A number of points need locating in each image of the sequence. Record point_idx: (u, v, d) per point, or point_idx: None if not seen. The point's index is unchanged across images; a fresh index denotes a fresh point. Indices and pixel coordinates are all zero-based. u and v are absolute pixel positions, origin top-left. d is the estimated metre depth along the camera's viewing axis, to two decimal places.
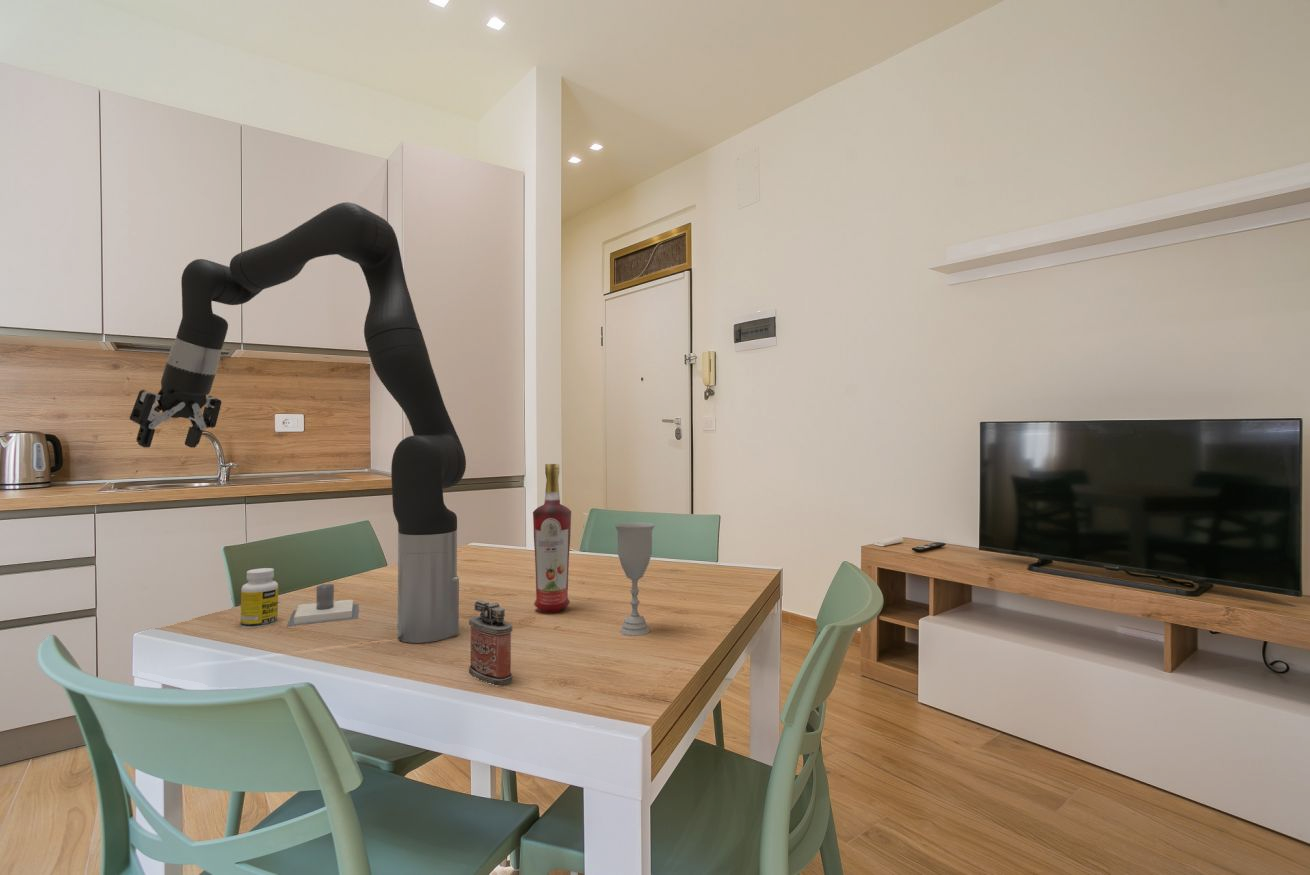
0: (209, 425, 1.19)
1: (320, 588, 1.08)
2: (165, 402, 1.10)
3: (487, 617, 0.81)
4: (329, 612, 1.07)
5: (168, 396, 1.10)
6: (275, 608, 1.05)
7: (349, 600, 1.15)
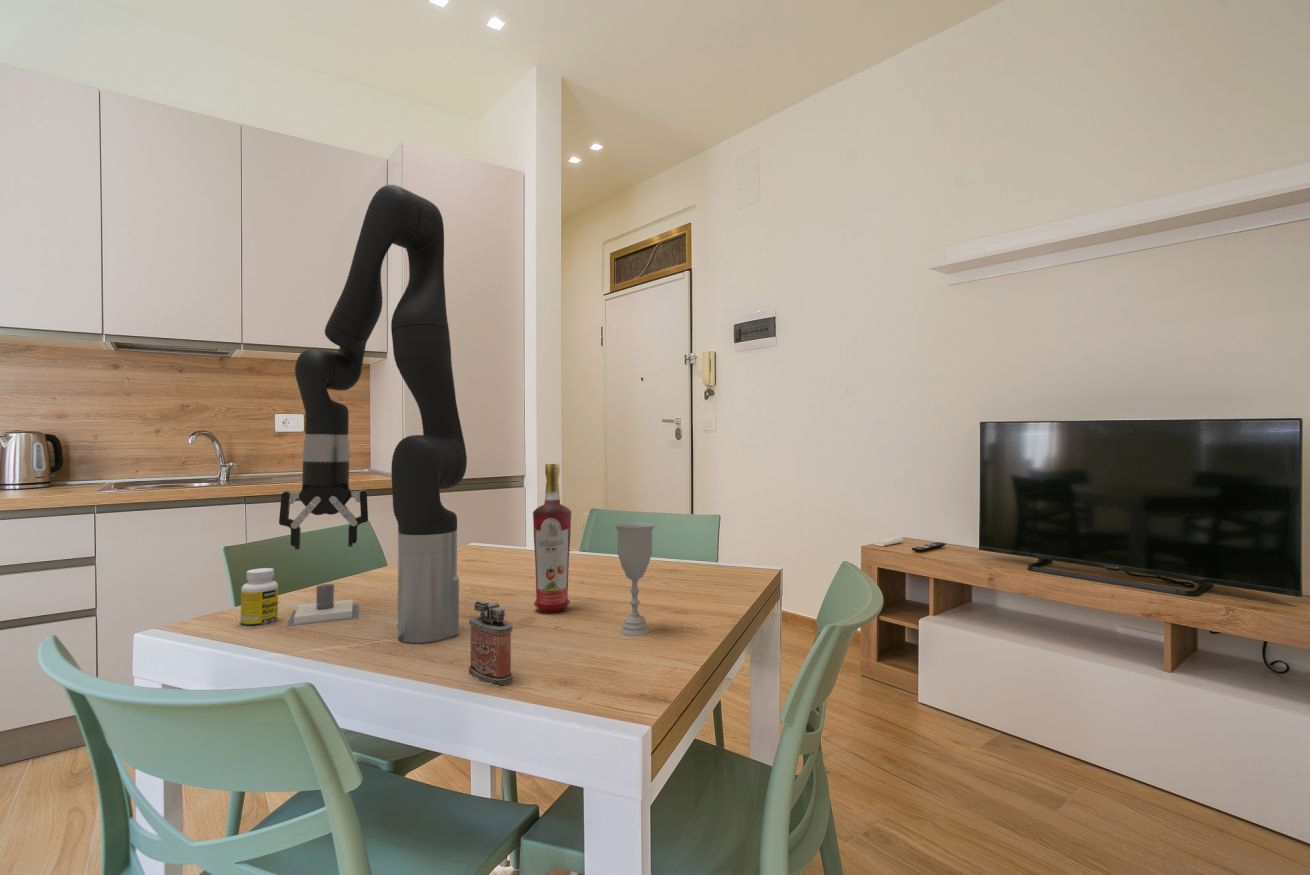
0: None
1: (320, 588, 1.08)
2: (302, 499, 1.08)
3: (487, 617, 0.81)
4: (329, 612, 1.07)
5: (303, 492, 1.08)
6: (275, 608, 1.05)
7: (349, 600, 1.15)
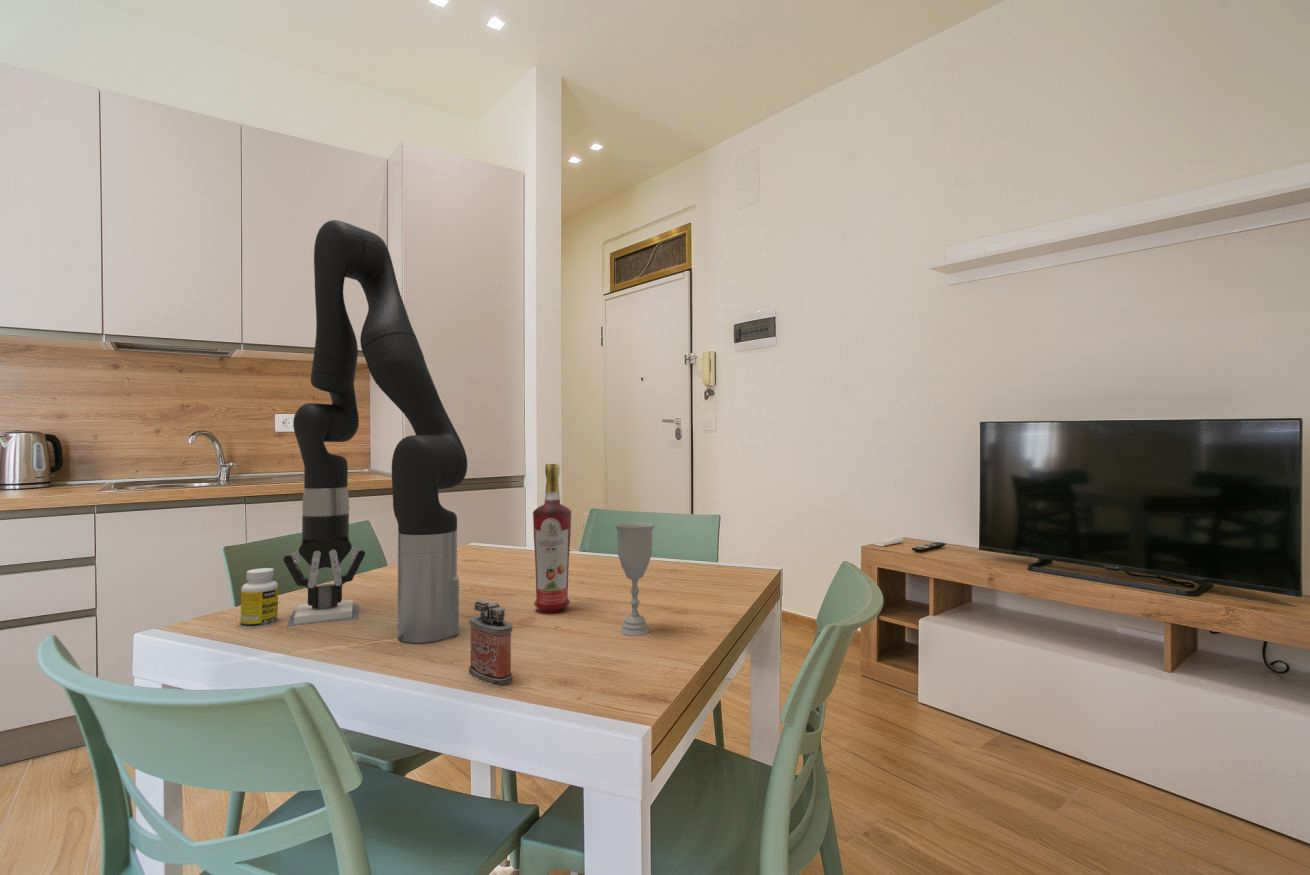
0: (346, 578, 1.10)
1: (320, 588, 1.08)
2: (305, 554, 1.08)
3: (487, 617, 0.81)
4: (329, 612, 1.07)
5: (302, 548, 1.07)
6: (275, 608, 1.05)
7: (349, 600, 1.15)
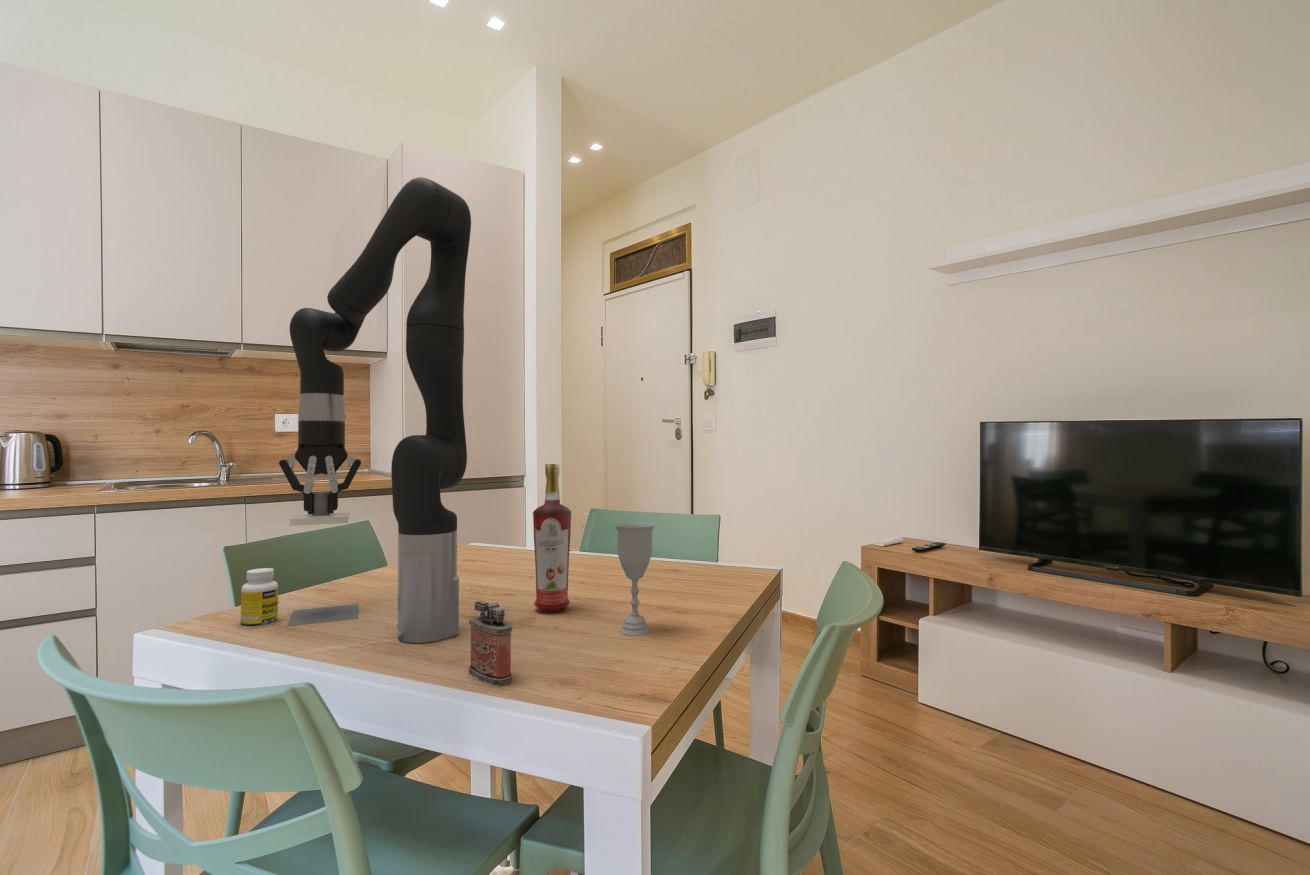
0: (341, 485, 1.10)
1: (316, 494, 1.08)
2: (300, 459, 1.07)
3: (487, 617, 0.81)
4: (325, 517, 1.07)
5: (298, 453, 1.07)
6: (275, 608, 1.05)
7: (345, 511, 1.15)
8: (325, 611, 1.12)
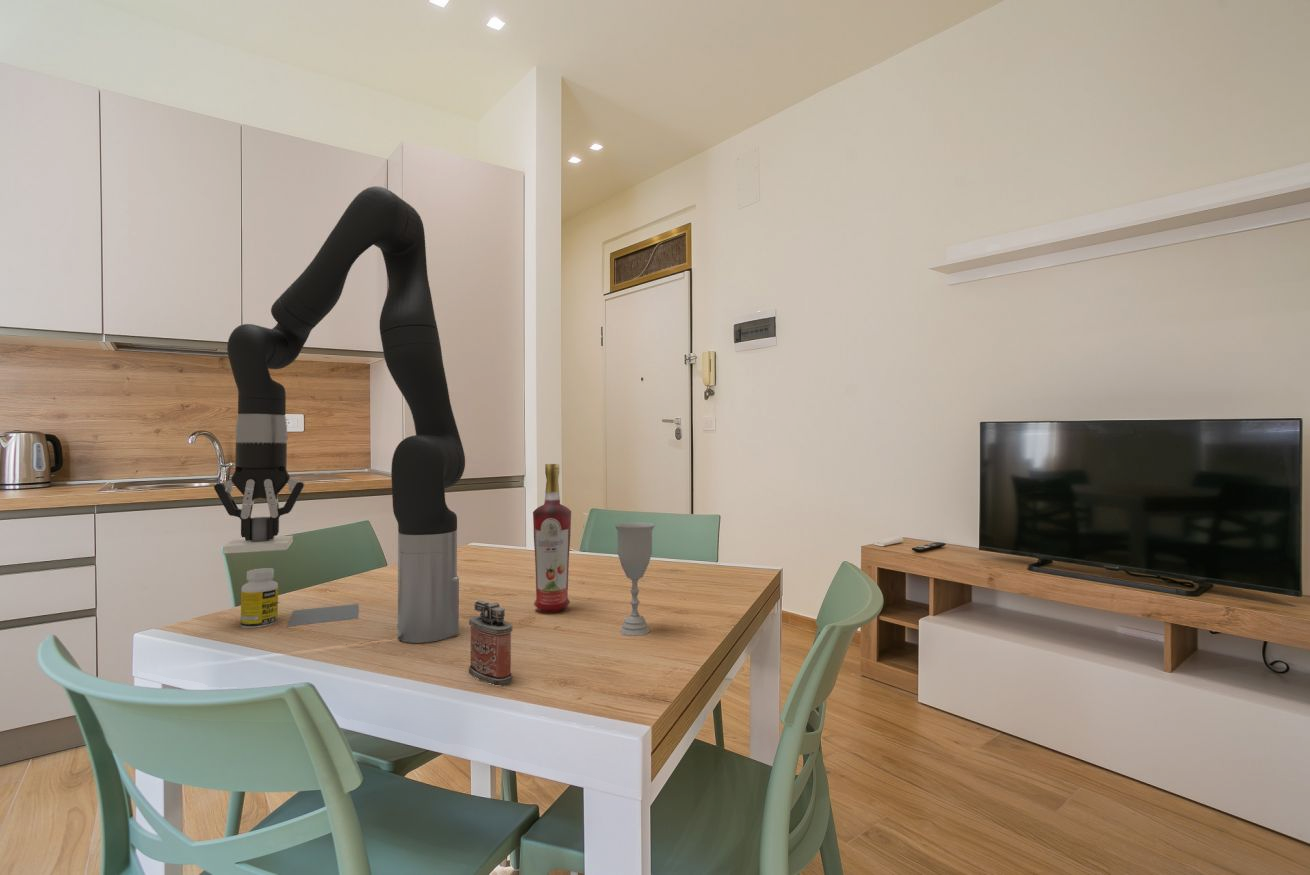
0: (282, 510, 1.05)
1: (254, 519, 1.03)
2: (237, 483, 1.03)
3: (487, 617, 0.81)
4: (262, 543, 1.02)
5: (234, 477, 1.02)
6: (275, 608, 1.05)
7: (288, 536, 1.10)
8: (325, 611, 1.12)
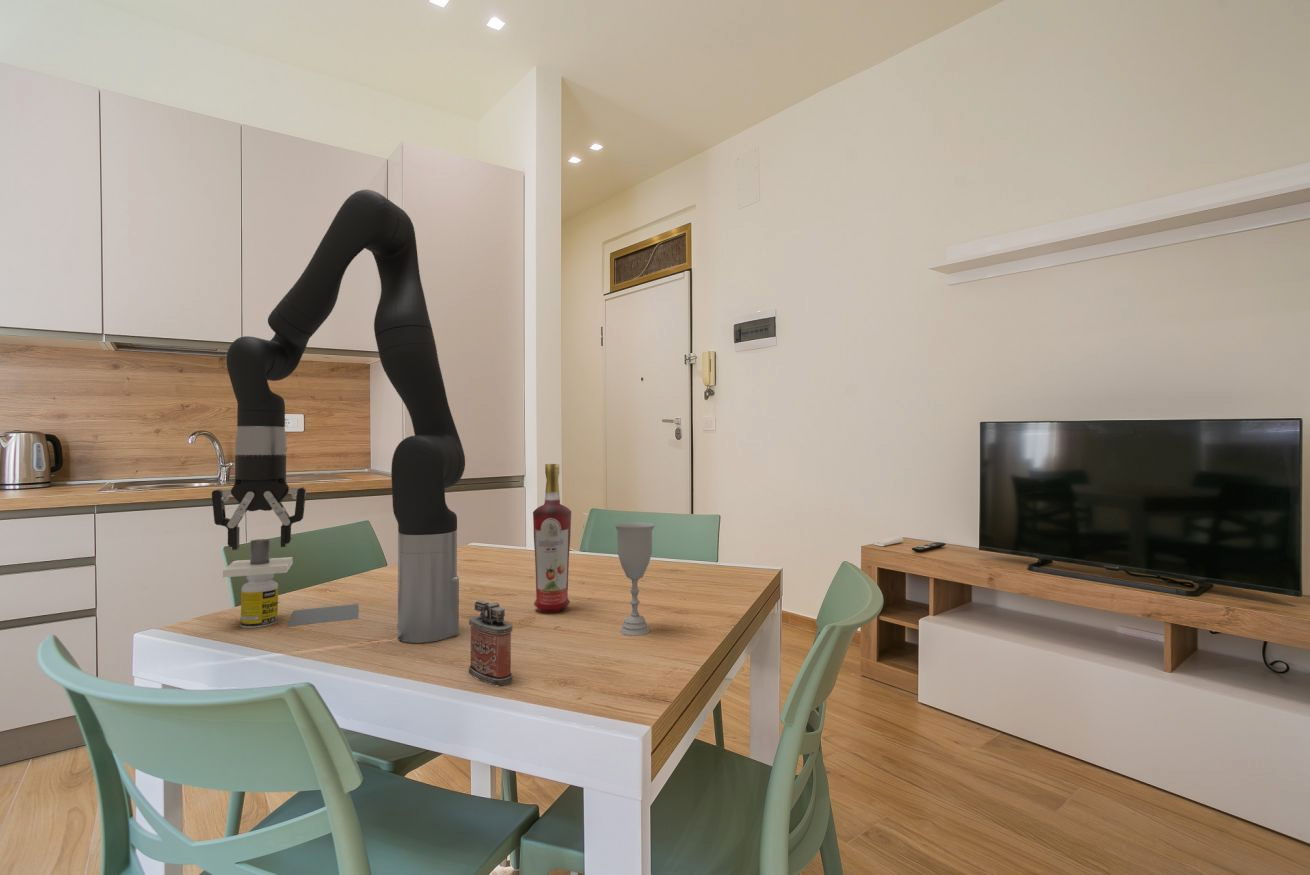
0: None
1: (254, 542, 1.03)
2: (235, 495, 1.02)
3: (487, 617, 0.81)
4: (262, 566, 1.02)
5: (235, 488, 1.02)
6: (275, 608, 1.05)
7: (288, 557, 1.10)
8: (325, 611, 1.12)
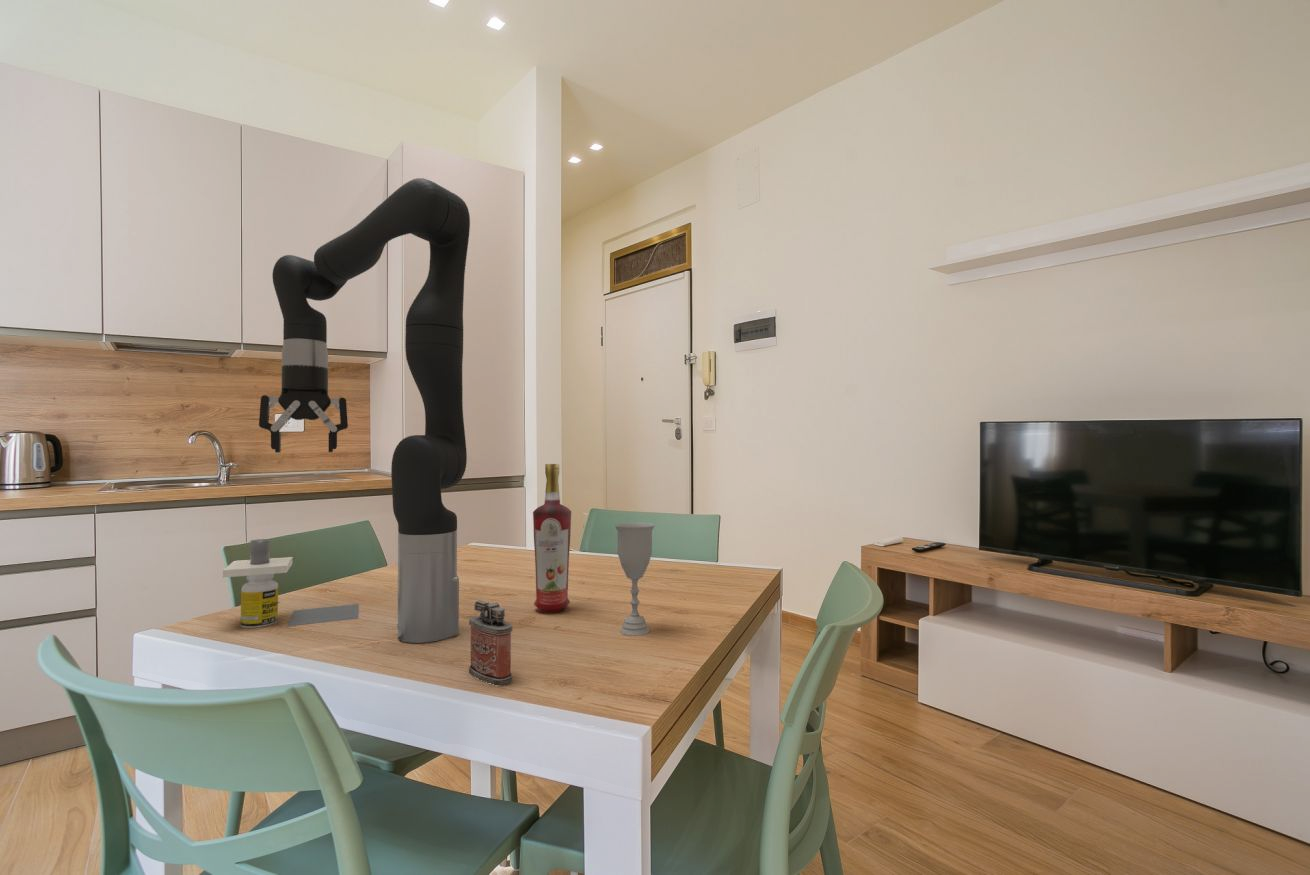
0: (341, 426, 1.14)
1: (254, 542, 1.03)
2: (282, 403, 1.09)
3: (487, 617, 0.81)
4: (262, 566, 1.02)
5: (283, 396, 1.09)
6: (275, 608, 1.05)
7: (288, 557, 1.10)
8: (325, 611, 1.12)
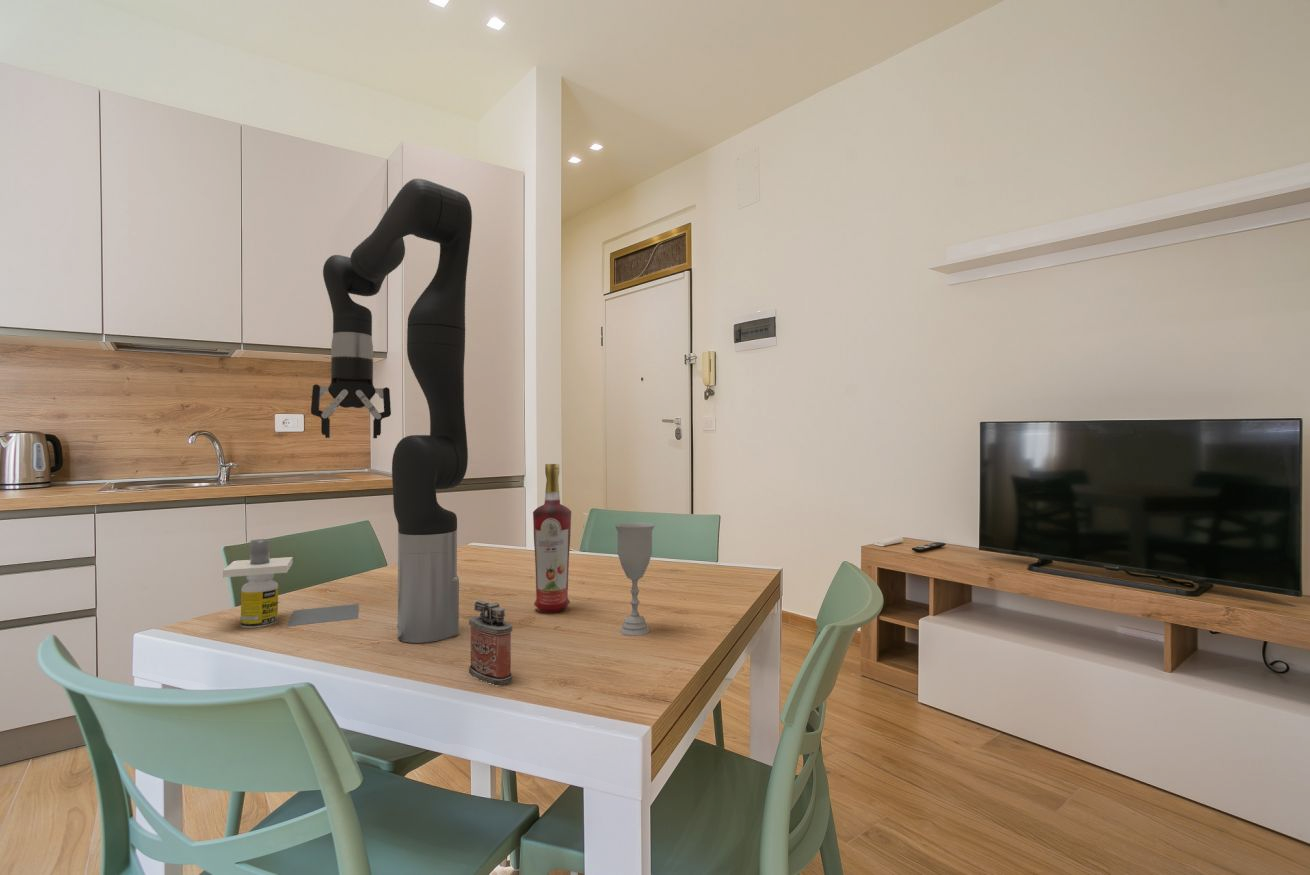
0: (385, 414, 1.22)
1: (254, 542, 1.03)
2: (331, 392, 1.18)
3: (487, 617, 0.81)
4: (262, 566, 1.02)
5: (332, 386, 1.18)
6: (275, 608, 1.05)
7: (288, 557, 1.10)
8: (325, 611, 1.12)
